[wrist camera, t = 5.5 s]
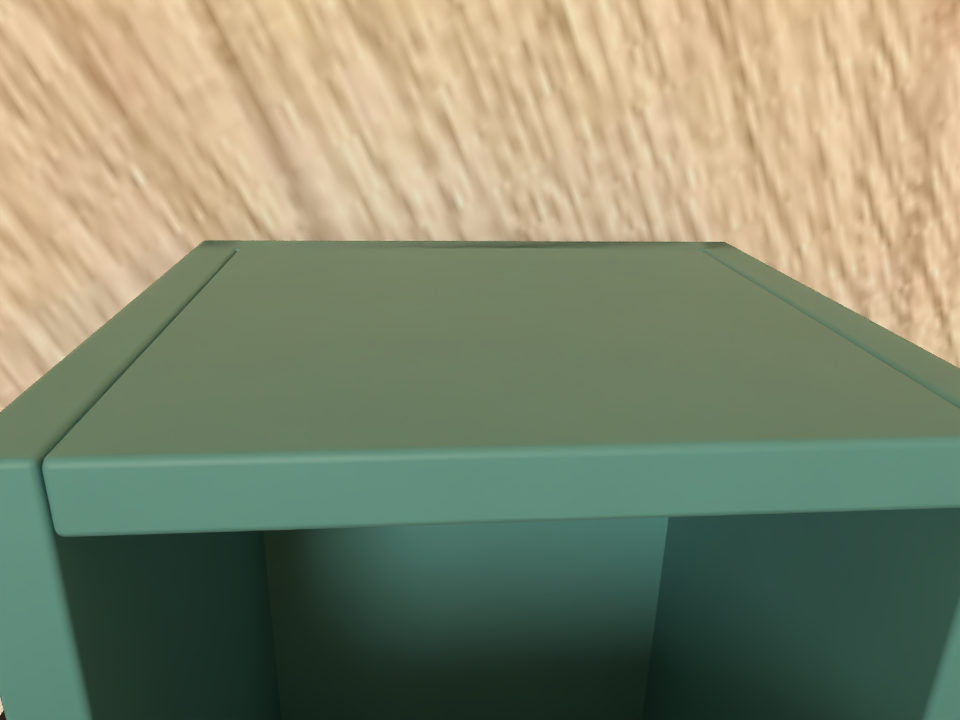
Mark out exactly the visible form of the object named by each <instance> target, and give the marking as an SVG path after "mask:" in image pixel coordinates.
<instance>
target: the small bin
mask: <svg viewBox="0 0 960 720" xmlns="http://www.w3.org/2000/svg"><path fill="white" fill-rule="evenodd" d="M0 698H1V702H2V705H3V709H4V713H5V717H6V720H960V368H958V367H956V366H954V365H952V364H950V363H948V362H947V361H945V360H943V359H941V358H939V357H937V356H935V355H934V354H932V353H930V352H928V351H926V350H924V349H922V348H921V347H919V346H917V345H915V344H913V343H911V342H909V341H908V340H906V339H904V338H902V337H900V336H898V335H896V334H895V333H893V332H891V331H889V330H887V329H885V328H883V327H882V326H880V325H878V324H876V323H874V322H872V321H870V320H869V319H867V318H865V317H863V316H861V315H859V314H857V313H856V312H854V311H852V310H850V309H848V308H846V307H844V306H843V305H841V304H839V303H837V302H835V301H833V300H831V299H830V298H828V297H826V296H824V295H822V294H820V293H818V292H816V291H815V290H813V289H811V288H809V287H807V286H805V285H803V284H802V283H800V282H798V281H796V280H794V279H792V278H790V277H789V276H787V275H785V274H783V273H781V272H779V271H777V270H776V269H774V268H772V267H770V266H768V265H766V264H764V263H763V262H761V261H759V260H757V259H755V258H753V257H751V256H750V255H748V254H746V253H744V252H742V251H740V250H738V249H737V248H735V247H733V246H731V245H729V244H727V243H725V242H515V241H203V242H202V243H201V244H199V245H198V246H197V247H196V248H195V249H194V250H192V251H191V252H190V253H189V254H188V255H186V256H185V257H184V258H183V259H182V260H180V261H179V262H178V263H177V264H176V265H174V266H173V267H172V268H171V269H170V270H169V271H167V272H166V273H165V274H164V275H163V276H161V277H160V278H159V279H158V280H157V281H155V282H154V283H153V284H152V285H151V286H150V287H148V288H147V289H146V290H145V291H144V292H142V293H141V294H140V295H139V296H138V297H136V298H135V299H134V300H133V301H132V302H131V303H129V304H128V305H127V306H126V307H125V308H123V309H122V310H121V311H120V312H119V313H117V314H116V315H115V316H114V317H113V318H112V319H110V320H109V321H108V322H107V323H106V324H104V325H103V326H102V327H101V328H100V329H98V330H97V331H96V332H95V333H94V334H92V335H91V336H90V337H89V338H88V339H87V340H85V341H84V342H83V343H82V344H81V345H79V346H78V347H77V348H76V349H75V350H73V351H72V352H71V353H70V354H69V355H68V356H66V357H65V358H64V359H63V360H62V361H60V362H59V363H58V364H57V365H56V366H54V367H53V368H52V369H51V370H50V371H49V372H47V373H46V374H45V375H44V376H43V377H41V378H40V379H39V380H38V381H37V382H35V383H34V384H33V385H32V386H31V387H29V388H28V389H27V390H26V391H25V392H24V393H22V394H21V395H20V396H19V397H18V398H16V399H15V400H14V401H13V402H12V403H10V404H9V405H8V406H7V407H6V408H5V409H3V410H2V411H1V412H0Z"/></svg>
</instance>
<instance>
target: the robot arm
mask: <svg viewBox="0 0 960 720" xmlns="http://www.w3.org/2000/svg"><path fill="white" fill-rule="evenodd" d="M0 720H6V717H5V713H4V711H3V712H2V714H1V715H0Z"/></svg>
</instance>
